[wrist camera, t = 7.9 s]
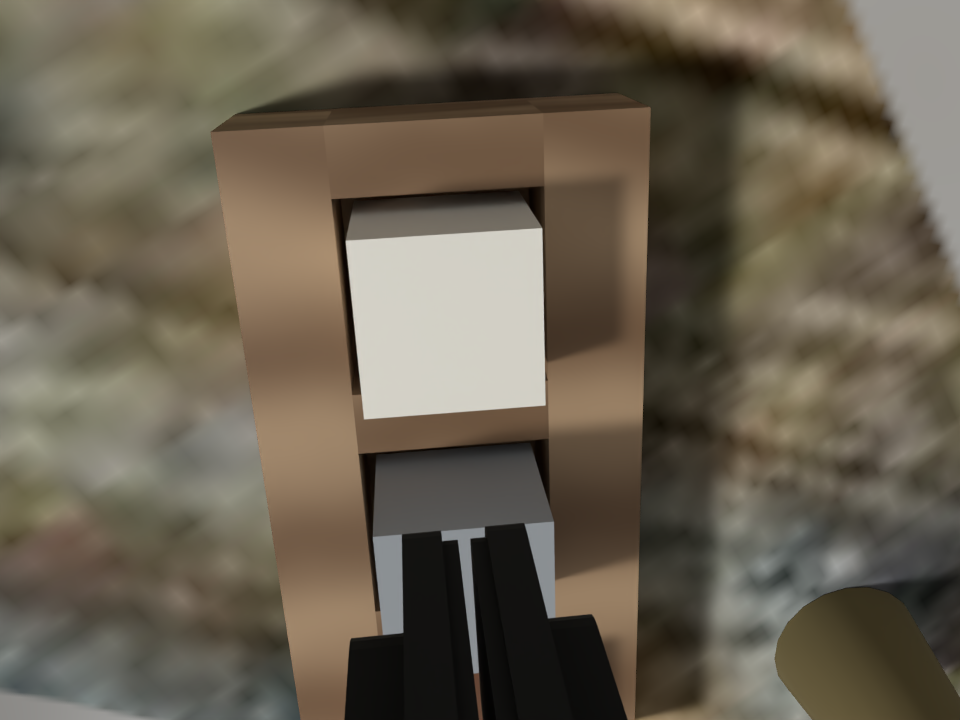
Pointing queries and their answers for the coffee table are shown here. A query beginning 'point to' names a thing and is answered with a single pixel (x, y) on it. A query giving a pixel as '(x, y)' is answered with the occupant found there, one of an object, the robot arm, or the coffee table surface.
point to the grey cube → (458, 515)
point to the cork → (863, 661)
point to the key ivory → (447, 303)
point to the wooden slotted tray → (356, 441)
